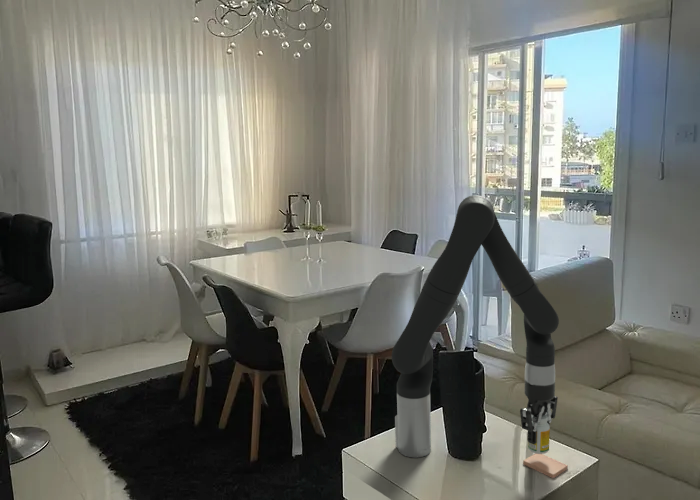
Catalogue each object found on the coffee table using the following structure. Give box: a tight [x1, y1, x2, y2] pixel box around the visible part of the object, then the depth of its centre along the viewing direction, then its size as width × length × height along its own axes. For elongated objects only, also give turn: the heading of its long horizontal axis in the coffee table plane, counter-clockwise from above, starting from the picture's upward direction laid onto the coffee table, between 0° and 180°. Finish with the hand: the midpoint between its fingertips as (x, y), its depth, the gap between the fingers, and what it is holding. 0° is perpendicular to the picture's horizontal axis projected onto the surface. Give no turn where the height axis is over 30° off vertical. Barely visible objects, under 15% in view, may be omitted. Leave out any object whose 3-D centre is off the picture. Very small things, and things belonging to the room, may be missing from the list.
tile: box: [522, 453, 569, 479], centre depth 152 cm, size 2×6×9 cm
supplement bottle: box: [527, 414, 551, 455], centre depth 152 cm, size 5×5×10 cm
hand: (538, 438), depth 153 cm, fingers closed on supplement bottle, 5 cm apart
